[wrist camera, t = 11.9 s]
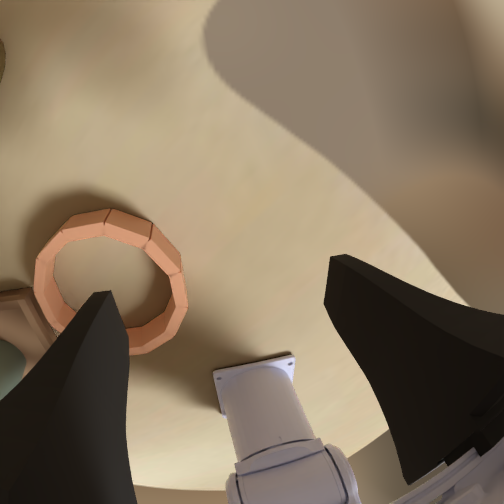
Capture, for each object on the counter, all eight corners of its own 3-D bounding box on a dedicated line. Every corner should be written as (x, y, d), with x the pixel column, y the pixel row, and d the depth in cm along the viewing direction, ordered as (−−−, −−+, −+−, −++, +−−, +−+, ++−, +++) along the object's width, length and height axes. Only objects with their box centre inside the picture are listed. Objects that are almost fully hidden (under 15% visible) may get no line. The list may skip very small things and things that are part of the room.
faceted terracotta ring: (194, 327, 22) (197, 346, 21) (75, 340, 20) (70, 359, 18) (171, 198, 17) (171, 210, 15) (26, 226, 15) (12, 240, 13)
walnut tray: (90, 389, 24) (89, 401, 22) (3, 387, 21) (0, 397, 20) (31, 287, 17) (24, 299, 16) (-56, 299, 15) (-63, 308, 13)
